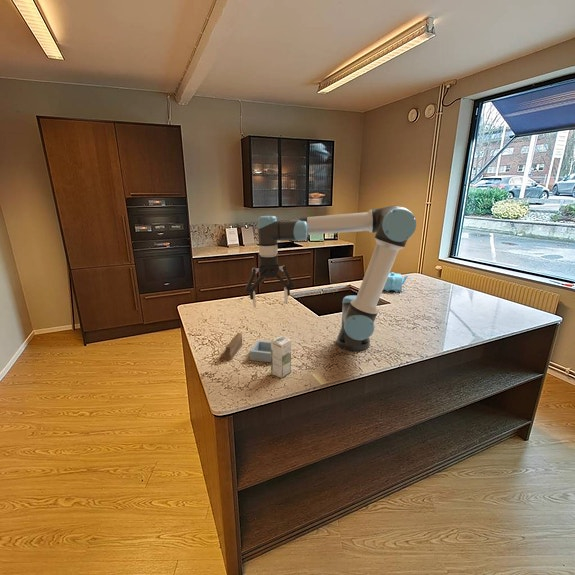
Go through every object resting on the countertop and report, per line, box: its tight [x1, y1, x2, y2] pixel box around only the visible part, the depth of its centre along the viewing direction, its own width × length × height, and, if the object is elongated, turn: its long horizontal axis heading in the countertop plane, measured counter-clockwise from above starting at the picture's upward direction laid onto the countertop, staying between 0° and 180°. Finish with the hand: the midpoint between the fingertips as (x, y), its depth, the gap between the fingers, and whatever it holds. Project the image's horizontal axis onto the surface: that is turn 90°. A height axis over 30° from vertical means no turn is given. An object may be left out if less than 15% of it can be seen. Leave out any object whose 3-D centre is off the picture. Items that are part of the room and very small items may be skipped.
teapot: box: [383, 271, 411, 293], centre depth 227 cm, size 18×16×13 cm
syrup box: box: [270, 335, 292, 379], centre depth 124 cm, size 6×6×14 cm
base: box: [219, 332, 243, 361], centre depth 142 cm, size 5×14×6 cm, turn 167°
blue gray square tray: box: [249, 340, 271, 363], centre depth 139 cm, size 10×10×4 cm
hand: (270, 304), depth 135 cm, fingers open, 13 cm apart
